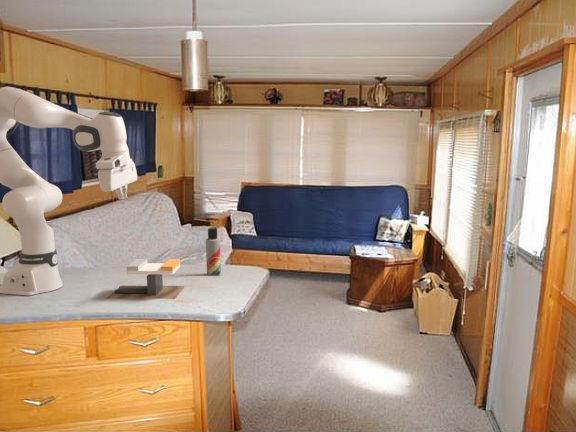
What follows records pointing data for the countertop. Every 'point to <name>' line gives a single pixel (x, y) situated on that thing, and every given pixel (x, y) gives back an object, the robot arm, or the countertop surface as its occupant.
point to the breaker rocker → (153, 267)
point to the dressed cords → (132, 290)
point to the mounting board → (165, 293)
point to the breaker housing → (154, 284)
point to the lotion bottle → (213, 253)
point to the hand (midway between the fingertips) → (122, 198)
